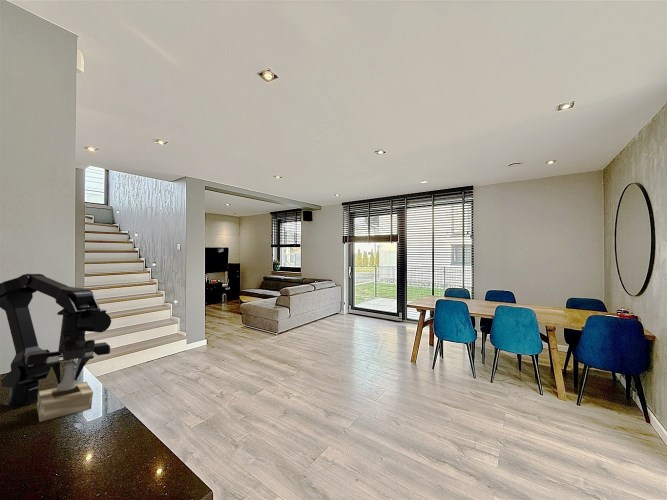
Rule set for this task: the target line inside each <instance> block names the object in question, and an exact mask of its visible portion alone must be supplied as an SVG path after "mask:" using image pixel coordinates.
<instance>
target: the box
mask: <svg viewBox="0 0 667 500" xmlns="http://www.w3.org/2000/svg"><path fill="white" fill-rule="evenodd" d="M75 385H76V387H75V388H74V389H71V390H68V391H58V390H57V388H58V387H57V386H56V387H53V388H47V389H44V390H43V389H42V390H38V401H36V402H37V403H36V411H37V415H38V421H39V423H40V422H41V423H42V422H46V421H49V420H52V419H56V418H60V417H64V416H68V415H71V414H75V413H80V412H83V411H88V410H90V409H92V405H93V397H94V396H93V395H94V391H93V388H91V387H90V385H89V383H88V382H87V381H84V382H76V384H75Z"/></svg>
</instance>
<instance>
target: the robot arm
mask: <svg viewBox="0 0 667 500" xmlns="http://www.w3.org/2000/svg"><path fill="white" fill-rule="evenodd" d="M36 292H38V293H41V294H44V295H47V296H49V297H50V298H53V299H55V303H56V304H57V305H59V307H61V308H62V309H61V310H60V311H58V312H57V313H56V315H58V316H62V319H61V326H60V327H61V328H60V336H59V342H58V351H50V349H42V348H41V347H40V346H39V343H38V339H37V336H36V332H35V328H34V324H33V320H32V316H31V313H30V307H29V305H30V304H31V301H32V300H33V298H34V295H33V294H35V293H36ZM0 309H1V310H3V311H5V314H6V319H7V323H8V326H9V330H10V335H11V338H12V342H13V347H14V350H15V355H14V358H13V359H12V361H11V363H10V371H9V372H8V373H7V374H5V375H4V377H3V378H2V379H1V380H0V381H1V387H3V388H9V395H8V396H9V397H8V401H6V402H3V403H1V406H2V407H6V408H13V409H14V408H15V409H20V408H23V407H24V406H27V405H30V404H34V403H36V402H38V394H39V388H40V387H39V385H40V380H43V379H47V378H48V375H49V373H50V371H51V368H52V370H53V373H54V377H55V380H56V381H57V382H56V383H57V385H58V384H59V383H60V381H61V361H60V360H59V359H60V358H62V360H63V361H65V362H68V361H72V360H76V359H77V362H76V365H75V366H76V367H75V370H74V379H75V381H77V380H78V378H79V377H80V375H81V372H82V371H83V369H84V366H86V364H87V363H88V362H89V361H90V360H92V359H94V358H95V357H94V354H95V355H97V356H102V355H109V354H110V353H111V346H110V345H109V344H108V342H105V341H103V342H97V343H96V341H95V339H89V340H86V338H85V337H86V332H88V333H104V332H105V331H107V330H108V329H109V328H110V326H111V323H112V319H111V316H110V315H109V314H108V313H107V310H106V309H101V307H100V304H99V303H98V301H97V299H96V297H95V294H94V292H93V291H92V290H91V289H88V288H83V287H75V286H69V285H66V284H65V283H62V282H59V281H56V280H54V279H52V278H49V277H48V276H46V275H45V274H42V273H25V274H22V275H20V276H19V277H16V278H12V279H8V280H5V281H2V282H1V283H0Z"/></svg>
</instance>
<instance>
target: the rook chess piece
mask: <svg viewBox="0 0 667 500" xmlns="http://www.w3.org/2000/svg"><path fill="white" fill-rule="evenodd" d="M75 366H77V362H76V361H75V360H68V361H65V362H63V364H62V365H61V368H63V370H62V376H61V378H60V383H59V384H58V383H57V385H56V388H57V387H58V388H57V390H58V391H68V390H71V389H74V388H75V387H76V385H75V384H77V380H75V379H74V378H75V371H76V368H75Z"/></svg>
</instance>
